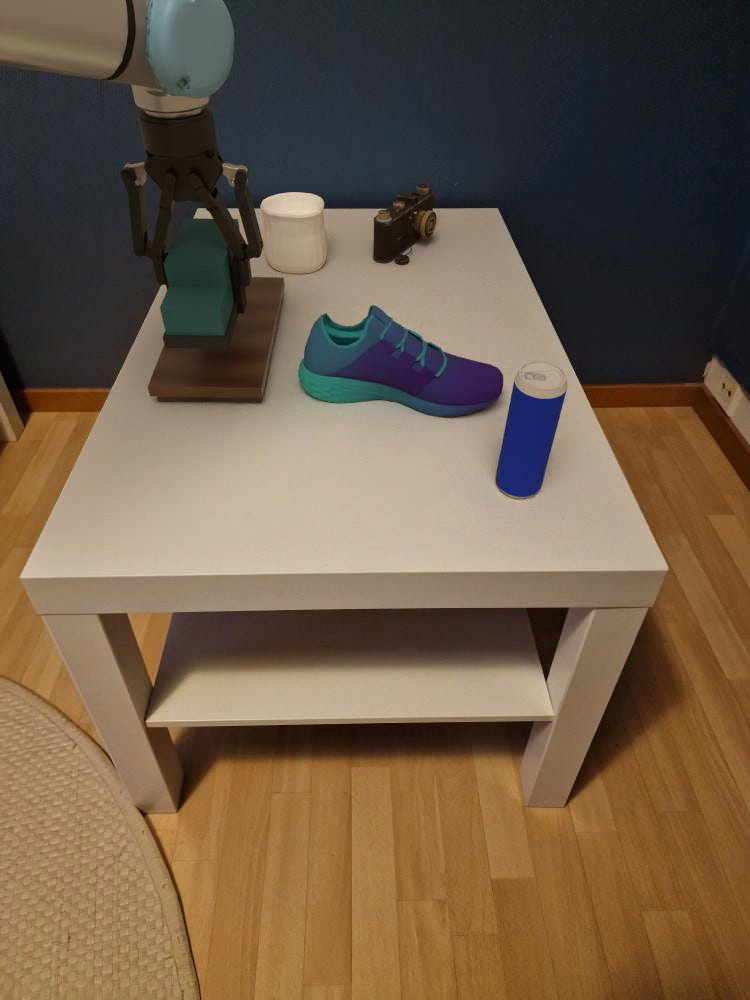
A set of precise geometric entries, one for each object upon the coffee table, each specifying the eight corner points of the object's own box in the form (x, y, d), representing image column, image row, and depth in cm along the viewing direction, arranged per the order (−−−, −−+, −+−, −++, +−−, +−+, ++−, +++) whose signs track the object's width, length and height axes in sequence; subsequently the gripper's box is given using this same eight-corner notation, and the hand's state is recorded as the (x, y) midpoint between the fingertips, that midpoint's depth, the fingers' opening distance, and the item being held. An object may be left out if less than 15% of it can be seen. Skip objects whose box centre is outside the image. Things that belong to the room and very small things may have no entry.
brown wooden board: (194, 293, 106) (191, 275, 104) (285, 295, 106) (284, 277, 104) (152, 406, 87) (147, 386, 84) (263, 407, 87) (261, 388, 84)
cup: (336, 269, 112) (334, 209, 105) (278, 281, 109) (272, 220, 102) (315, 244, 118) (312, 186, 111) (259, 255, 115) (253, 196, 108)
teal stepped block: (194, 273, 93) (183, 214, 87) (249, 274, 93) (242, 215, 87) (165, 348, 81) (149, 285, 75) (228, 349, 81) (218, 286, 75)
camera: (401, 270, 112) (403, 221, 107) (367, 259, 115) (367, 211, 109) (448, 232, 122) (453, 186, 116) (416, 223, 125) (419, 178, 119)
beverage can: (537, 469, 79) (564, 359, 69) (543, 501, 76) (574, 391, 65) (492, 468, 79) (512, 358, 69) (497, 500, 76) (519, 389, 65)
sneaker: (498, 425, 85) (513, 340, 76) (292, 401, 88) (284, 317, 79) (501, 377, 92) (515, 294, 83) (310, 356, 95) (305, 275, 86)
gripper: (62, 117, 68) (121, 322, 84) (269, 120, 68) (287, 324, 84) (85, 93, 73) (136, 291, 89) (277, 96, 73) (293, 293, 89)
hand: (209, 307), depth 87 cm, fingers closed on teal stepped block, 7 cm apart
